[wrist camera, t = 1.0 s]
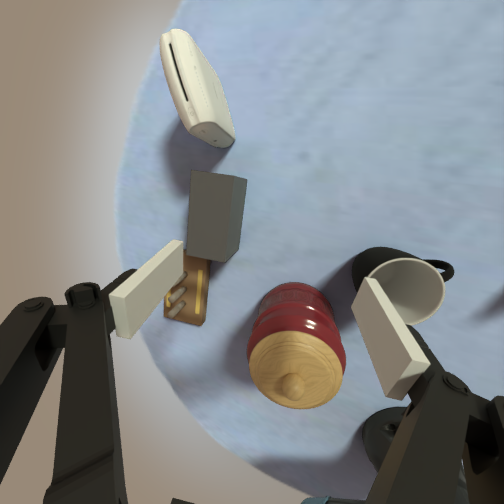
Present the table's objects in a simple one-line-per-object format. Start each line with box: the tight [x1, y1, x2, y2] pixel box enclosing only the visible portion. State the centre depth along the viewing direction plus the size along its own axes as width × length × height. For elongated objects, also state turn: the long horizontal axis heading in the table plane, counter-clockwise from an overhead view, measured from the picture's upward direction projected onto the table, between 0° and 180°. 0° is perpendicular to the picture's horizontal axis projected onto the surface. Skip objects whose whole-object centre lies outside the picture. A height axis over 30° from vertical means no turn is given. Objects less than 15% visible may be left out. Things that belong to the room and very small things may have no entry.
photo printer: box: [160, 29, 235, 148], centre depth 29 cm, size 10×4×12 cm, turn 17°
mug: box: [352, 247, 454, 325], centre depth 31 cm, size 12×9×10 cm
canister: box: [247, 282, 346, 409], centre depth 32 cm, size 13×13×18 cm
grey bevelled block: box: [186, 170, 247, 263], centre depth 35 cm, size 12×6×8 cm, turn 172°
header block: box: [164, 249, 211, 326], centre depth 41 cm, size 14×8×6 cm, turn 172°
